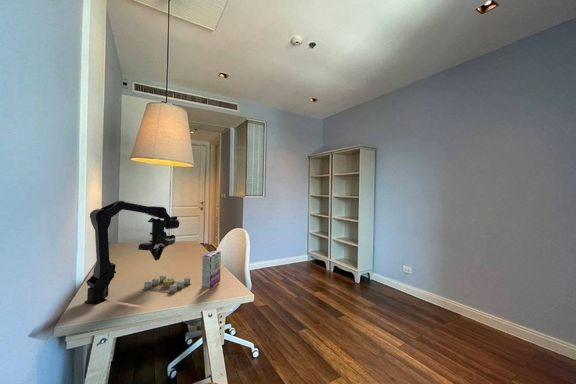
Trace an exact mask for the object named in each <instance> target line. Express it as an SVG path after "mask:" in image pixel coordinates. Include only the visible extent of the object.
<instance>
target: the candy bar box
mask: <svg viewBox="0 0 576 384" xmlns="http://www.w3.org/2000/svg"><path fill="white" fill-rule="evenodd" d="M221 255H222V251H221V250H220V251H219V250H212V251H210V252H207V253H206V254H204V255H202V263H201V265H202V267H201V271H202V274H201V275H202V276H201V281H202V282H201V287H203V288H208V289H212V288H213V287H214V286H216V285H217V284H218V283H219V282H220V281H221V262H222V261H221Z"/></svg>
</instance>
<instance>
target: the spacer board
mask: <svg viewBox="0 0 576 384" xmlns="http://www.w3.org/2000/svg"><path fill="white" fill-rule="evenodd" d="M164 279H167V275H165V274H163V275H160V276H159V277H158V278H155V277H154V278H152V279H151V281H150V280H149V281H145V282H144V285H143V287H144V288H142V289H141V290H143V291H149V292H154V293H155V292H156V293H161V294H162V293H163V294H168V295H176V294H177V293H179V292H181V291H182V290H185V289H186V288H188V287H189V286H191V285H192V283H191V277H184V278H183V280H179V281H176V280H175V284H174V285H170V288H163V281H164Z"/></svg>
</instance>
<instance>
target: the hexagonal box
mask: <svg viewBox="0 0 576 384" xmlns="http://www.w3.org/2000/svg"><path fill="white" fill-rule="evenodd" d="M175 281H176V278H173V277H169V278H166V279H164V281H163V288H170V285H174V284H175Z"/></svg>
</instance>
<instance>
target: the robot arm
mask: <svg viewBox="0 0 576 384" xmlns="http://www.w3.org/2000/svg"><path fill="white" fill-rule="evenodd" d="M121 211H130V212H136V213H140V214H141V213H142V214H145V215H147V216H151V217H150V219H148V220H147V223H151V231H150V232H149V235H150V236H151V239H150V240H149V242H143V243H140V244H138V248H137V249H138V250H140V251H149V252H150V254H151V256H152V258H153V259H154V261H159V260H160V259H161V256H162V253H163V251H164V250H165V249H166V248H167V247H168V246H172V245H174V244H175V242H176V235H175V234H170V235H167V231H165V230H173V229H178V228H179V227H180V220H179V218H178V216H175V215H173V216H170V215H169V214H168V212H167V211H168V210H167V209H166V207H164V206H157V205H156V206H155V205H154V206H152V205H148V206H147V205H143V204H137V203H132V202H127V201H125V200H115V201H114V202H112V203H110V204H107V205H105V206H103V207H101V208H97V209H93V210H92V211H91V212H90V213H89V219H90V222H91V226H92V227H93V229H94V236H95V237H94V239H95V255H96V257H95V258H96V263H95V265H94V268H93V274H92V275H91V276H90V277H89V278H88V279H87V280H86V285H87V286H88V288H87V295H86V297H87V300H84V304H88V305H89V304H90V305H99V304H101V303H102V302H105V301H107V300H108V299H107V298H108V297H109V286H110V284H111V281H113V279H114V278H115V274H117V271H116V264H115V263H113V262H111V260H110V245H109V227H110V225H111V222H112V217H114V216H116V215H118V213H120V212H121Z"/></svg>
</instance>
